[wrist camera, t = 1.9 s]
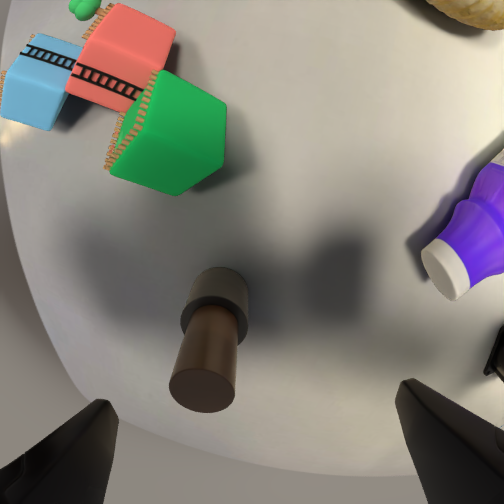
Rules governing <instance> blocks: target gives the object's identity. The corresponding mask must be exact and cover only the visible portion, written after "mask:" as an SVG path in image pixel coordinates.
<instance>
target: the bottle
mask: <svg viewBox="0 0 504 504" xmlns="http://www.w3.org/2000/svg"><path fill="white" fill-rule="evenodd" d="M421 258H422V262H423V264H424V267H425V269H426V271H427V273H428V275H429V277H430V279H431V280H432V282H433V283H434V285H435V286H436V287H437V289H438V290H439V291H440V292H441V293H442V294H443V295H444V296H445V297H446V298H447V299H449V300H451V301H456V300H458V299H459V298H460V297H461V296H462V295H463V294H465V293H466V292H467V291H469V289H470V288H471V287H473V286H474V285H475V284H477V283H478V282H480V281H481V280H483V279H484V278H486V277H489V276H492V275H497V274H501V273H503V272H504V149H503V150H502V151H501V152H500V153H499V154H498V155H497V156H496V157H495V158H493V159H492V160H491V161H490V162H489V163H488V164H487V165H486V166H485V167H484V168H483V169H482V170H481V171H480V172H479V174H478V176H477V178H476V180H475V182H474V184H473V187H472V190H471V193H470V196H469V199H466V200H462V201H460V202H459V203H458V204H457V205H456V207H455V210H454V214H453V217H452V219H451V221H450V223H449V224H448V225H447V227H446V228H445V229H444V230H443V231H442V232H441V234H440V235H439V236H438V237H437V238H435V239H434V240H433V241H432V242H431V243H430V244H429V245H427V246H426V247H425V248H424V249H423V250H422V251H421Z"/></svg>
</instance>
